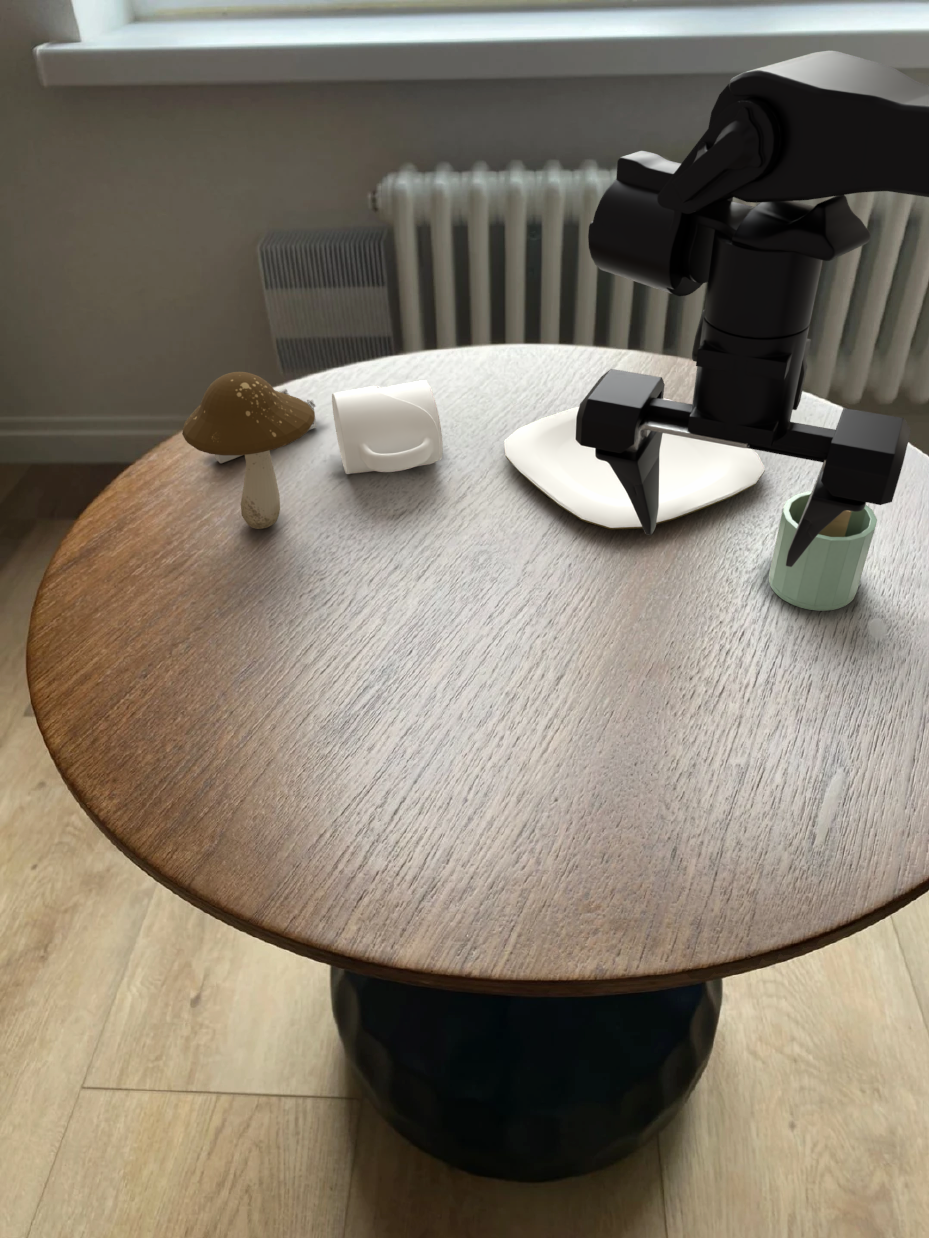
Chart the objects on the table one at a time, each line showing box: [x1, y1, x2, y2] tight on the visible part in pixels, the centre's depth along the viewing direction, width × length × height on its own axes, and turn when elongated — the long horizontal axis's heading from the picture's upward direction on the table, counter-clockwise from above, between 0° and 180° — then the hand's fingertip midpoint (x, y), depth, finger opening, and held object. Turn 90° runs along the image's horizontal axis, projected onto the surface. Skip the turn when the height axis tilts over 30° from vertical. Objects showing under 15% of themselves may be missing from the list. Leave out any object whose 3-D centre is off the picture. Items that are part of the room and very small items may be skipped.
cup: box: [768, 490, 878, 612], centre depth 78 cm, size 7×7×7 cm
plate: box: [503, 397, 766, 530], centre depth 95 cm, size 22×22×2 cm
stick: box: [819, 511, 852, 537], centre depth 78 cm, size 3×3×8 cm
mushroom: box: [181, 371, 316, 530], centre depth 86 cm, size 9×11×15 cm
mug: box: [331, 379, 444, 475], centre depth 95 cm, size 12×9×8 cm
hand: (718, 546), depth 63 cm, fingers open, 9 cm apart
